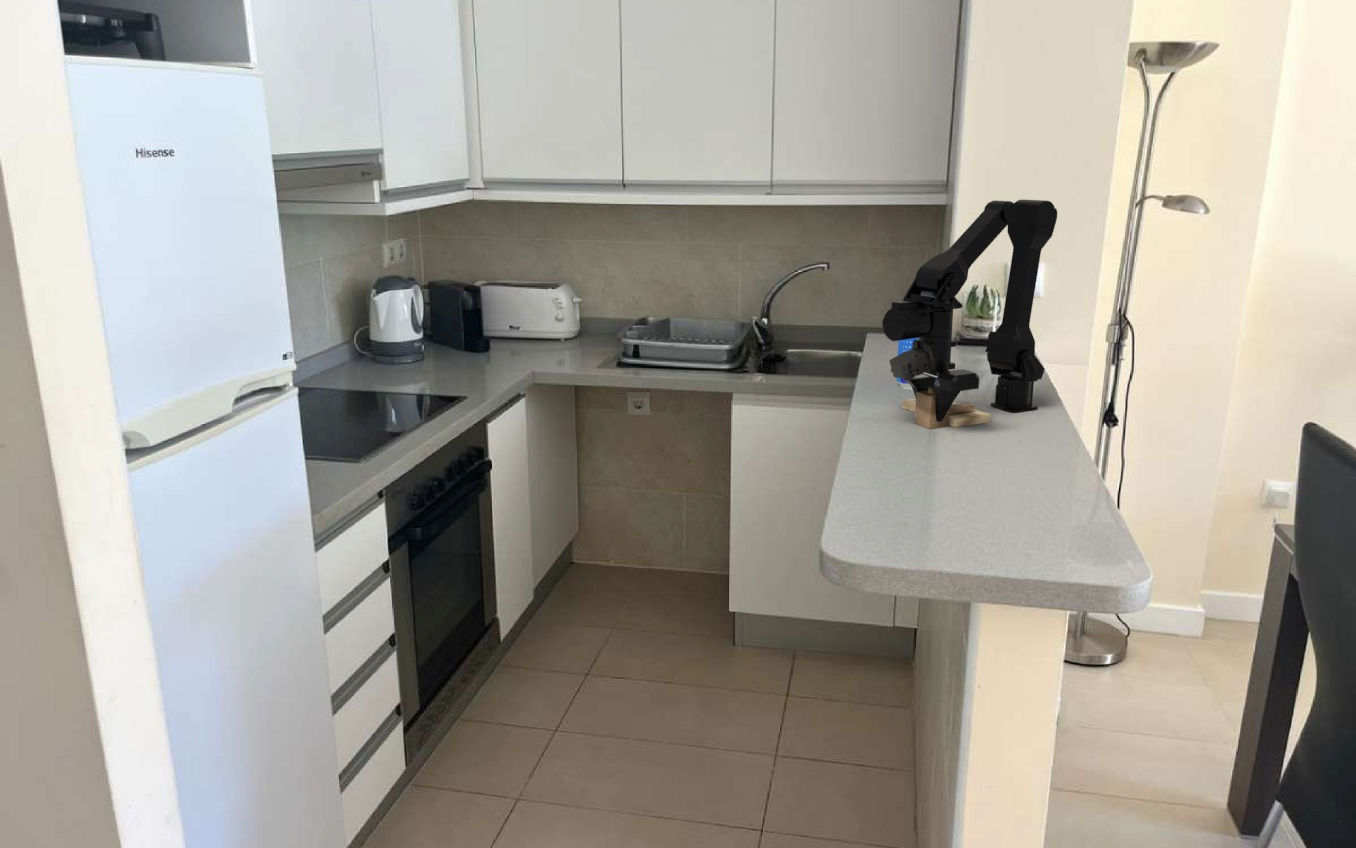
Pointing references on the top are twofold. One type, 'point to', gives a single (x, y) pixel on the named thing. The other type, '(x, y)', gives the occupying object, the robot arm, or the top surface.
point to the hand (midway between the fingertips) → (931, 418)
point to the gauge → (934, 410)
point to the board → (956, 415)
